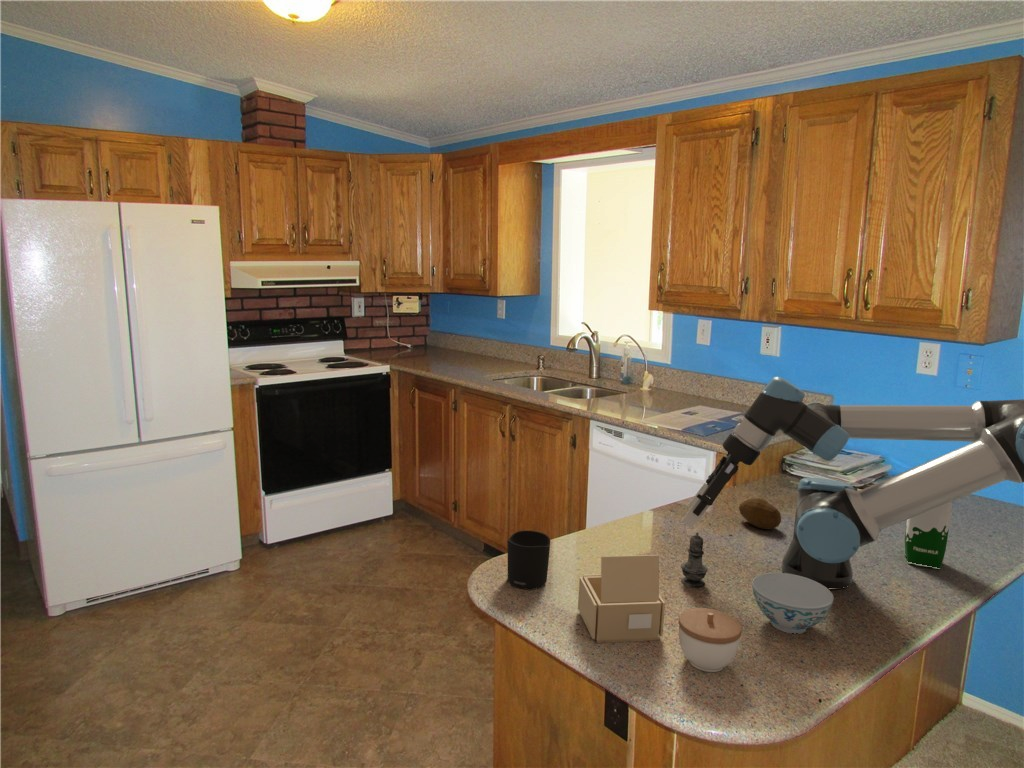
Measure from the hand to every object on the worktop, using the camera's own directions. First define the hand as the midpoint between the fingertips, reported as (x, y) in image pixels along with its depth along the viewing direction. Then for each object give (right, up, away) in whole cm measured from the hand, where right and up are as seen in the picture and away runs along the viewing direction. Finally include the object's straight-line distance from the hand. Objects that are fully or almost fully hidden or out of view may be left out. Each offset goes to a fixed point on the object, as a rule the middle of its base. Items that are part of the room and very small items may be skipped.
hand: (690, 516), depth 154 cm
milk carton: (+62, -15, +16) cm, 66 cm away
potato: (+29, -10, +37) cm, 48 cm away
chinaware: (+15, -19, -18) cm, 30 cm away
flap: (-18, -11, -27) cm, 34 cm away
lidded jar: (-5, -20, -32) cm, 38 cm away
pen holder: (-37, -14, -2) cm, 40 cm away
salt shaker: (+1, -15, 0) cm, 15 cm away
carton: (-19, -18, -20) cm, 33 cm away
